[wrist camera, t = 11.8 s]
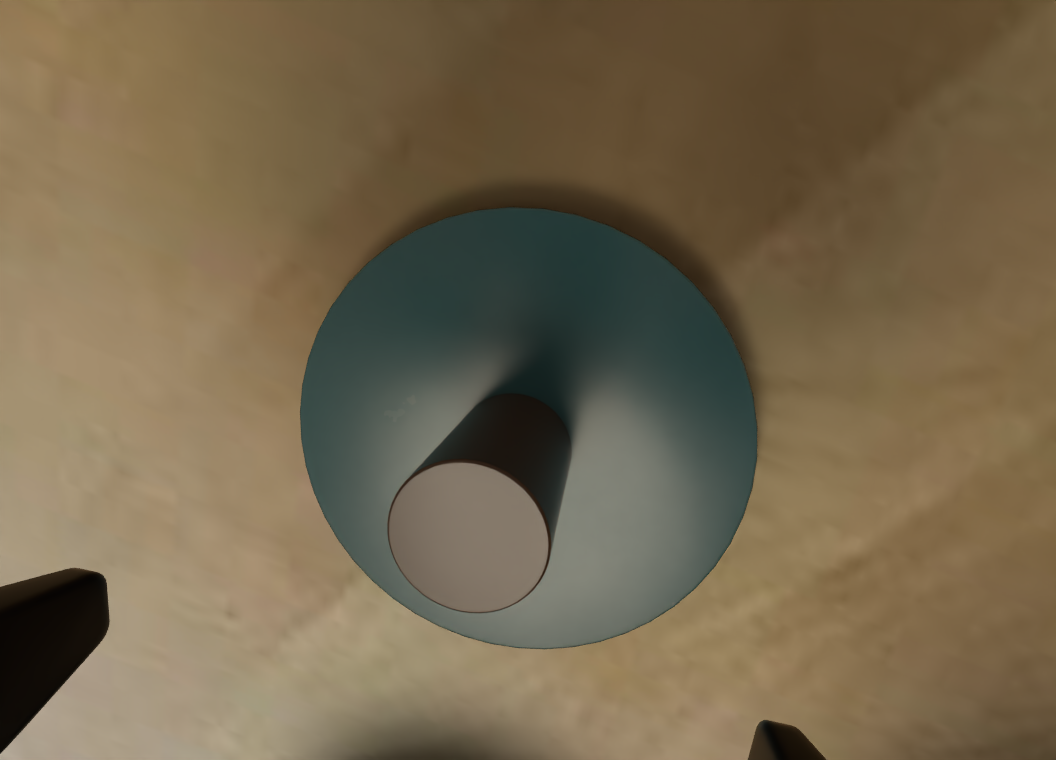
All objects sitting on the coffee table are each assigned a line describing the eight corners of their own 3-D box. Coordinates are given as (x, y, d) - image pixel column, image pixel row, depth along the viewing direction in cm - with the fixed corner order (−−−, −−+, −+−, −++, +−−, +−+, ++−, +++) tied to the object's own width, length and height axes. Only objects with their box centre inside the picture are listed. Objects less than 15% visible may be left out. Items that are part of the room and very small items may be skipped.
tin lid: (795, 240, 14) (930, 229, 8) (699, 661, 17) (744, 881, 11) (325, 186, 16) (145, 144, 10) (315, 581, 19) (173, 735, 13)
